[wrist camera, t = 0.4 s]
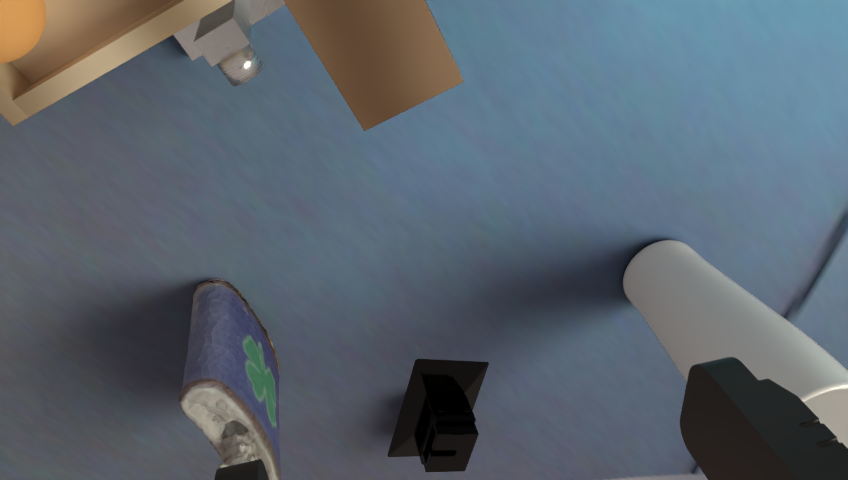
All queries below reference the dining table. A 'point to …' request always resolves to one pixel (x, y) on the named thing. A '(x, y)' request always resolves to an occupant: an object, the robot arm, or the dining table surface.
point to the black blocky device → (439, 414)
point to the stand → (228, 38)
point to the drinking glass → (731, 329)
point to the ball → (20, 27)
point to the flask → (232, 378)
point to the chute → (186, 3)
